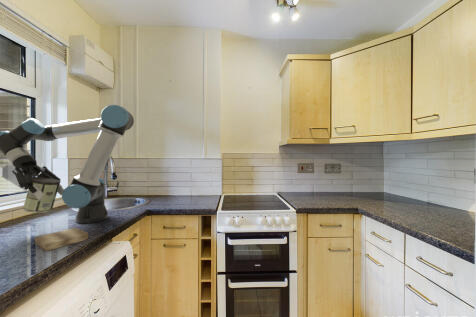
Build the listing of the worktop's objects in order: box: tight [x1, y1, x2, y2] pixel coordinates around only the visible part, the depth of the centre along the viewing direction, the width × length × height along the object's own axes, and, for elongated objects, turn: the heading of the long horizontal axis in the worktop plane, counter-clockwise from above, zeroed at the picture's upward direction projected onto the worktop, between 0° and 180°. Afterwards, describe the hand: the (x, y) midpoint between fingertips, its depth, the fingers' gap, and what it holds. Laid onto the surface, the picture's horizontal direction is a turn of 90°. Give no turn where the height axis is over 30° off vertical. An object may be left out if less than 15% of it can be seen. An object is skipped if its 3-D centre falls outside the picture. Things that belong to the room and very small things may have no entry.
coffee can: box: [22, 176, 61, 214], centre depth 99 cm, size 10×10×14 cm
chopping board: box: [34, 227, 89, 252], centre depth 90 cm, size 14×13×2 cm
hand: (53, 195), depth 99 cm, fingers closed on coffee can, 10 cm apart
